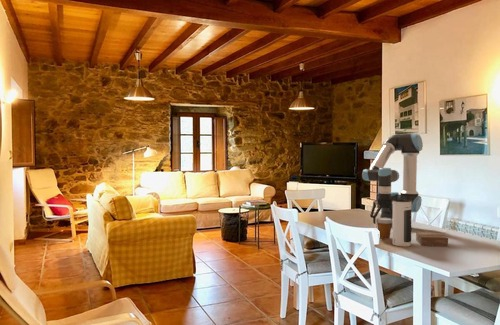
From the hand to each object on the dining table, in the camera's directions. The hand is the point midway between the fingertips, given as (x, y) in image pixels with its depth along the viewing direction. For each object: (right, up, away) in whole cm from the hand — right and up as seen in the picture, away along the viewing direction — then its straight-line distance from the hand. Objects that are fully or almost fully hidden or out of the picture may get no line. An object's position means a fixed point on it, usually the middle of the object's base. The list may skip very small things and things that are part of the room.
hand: (384, 229), depth 253 cm
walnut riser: (+23, -6, -14) cm, 27 cm away
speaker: (+5, -7, -16) cm, 18 cm away
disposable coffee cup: (0, -6, 0) cm, 6 cm away
